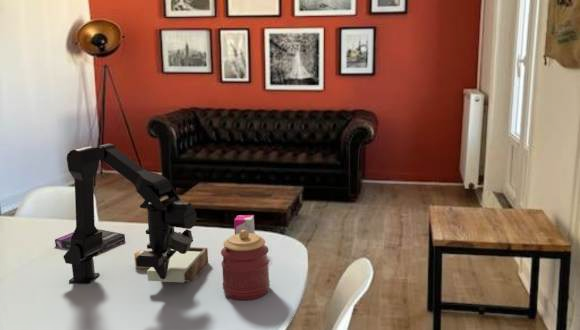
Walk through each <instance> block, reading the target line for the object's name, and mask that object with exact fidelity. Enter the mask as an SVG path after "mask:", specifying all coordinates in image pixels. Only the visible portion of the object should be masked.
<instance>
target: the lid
mask: <svg viewBox="0 0 580 330" xmlns="http://www.w3.org/2000/svg"><path fill="white" fill-rule="evenodd" d="M200 255H201V252H197V251H187V252H186V253H185V254H181V253H179V252H178V251H176V253H175V254H174V255H173V256H172V257H171V258H170V260H169V265H168V269H167V274H166V278H165V279H161V278H160V277H159V275H158V274H157V272H156V270H155V269H154V267H150V268H147V270H146V273H147V281H148V282H164V283H165V282H167V283H168V282H169V283H170V282H171V283H185V282H186V281H185V277H184V273H185V272H186V271H187V270H188V269H189V268H190V267H191V265H192V264H193V263H194V262H195V261H196V260H197V259H198V258H199V256H200Z"/></svg>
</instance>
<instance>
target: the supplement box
mask: <svg viewBox="0 0 580 330" xmlns="http://www.w3.org/2000/svg"><path fill="white" fill-rule="evenodd" d="M233 223H234V224H233V226H234V235H236V234H239V233H240V231H241V230H247V231H248V233H252V234H256V233H255V232H256V231H255V215H254V214H246V215H245V214H244V215H243V214H239V215H236V217H235V218H234V220H233Z"/></svg>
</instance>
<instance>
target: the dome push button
mask: <svg viewBox="0 0 580 330" xmlns="http://www.w3.org/2000/svg"><path fill="white" fill-rule="evenodd" d="M144 251H152V249H141V250H138V251H136V252H134V254H133V255H134V266H135V268H136V269H139V270H141V269H142V270H143V269H149V268H150V267H139V266H136V258H137V257H138V256H139V255H140V254H141V253H142V252H144Z"/></svg>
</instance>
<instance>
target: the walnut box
mask: <svg viewBox="0 0 580 330" xmlns="http://www.w3.org/2000/svg"><path fill="white" fill-rule="evenodd" d="M188 251H197V252H201V255H200V256H199V258H198V259H197V260H196V261H195V262H194V263H193V264H192V265H191V267H190V268H189V269H188V270H187V271H186V272H185V273H184V277H185V281H184V282H194V281H195V280H196V278H197V277H198V276H199V275H200V274H201V272H203V270H204V269H205V267H206V266H207V265H209V251H208V248H207V247H199V246H198V247H197V246H196V247H195V246H193V247H191V246H190V249H189V250H188Z"/></svg>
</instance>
